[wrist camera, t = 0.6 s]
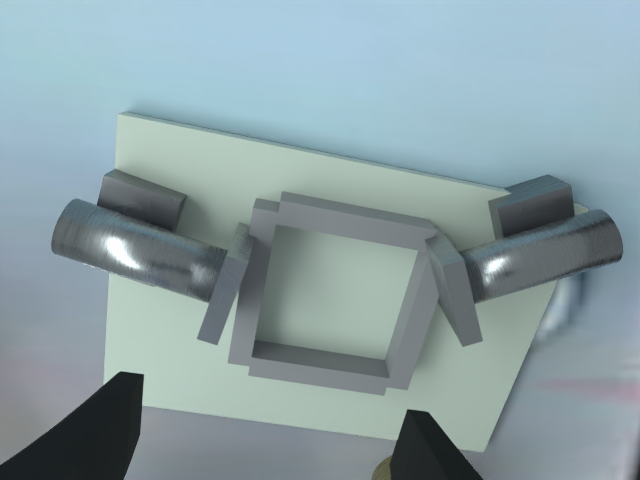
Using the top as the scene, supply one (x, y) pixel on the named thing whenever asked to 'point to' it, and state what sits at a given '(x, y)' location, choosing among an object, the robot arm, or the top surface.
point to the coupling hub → (383, 470)
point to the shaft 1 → (153, 245)
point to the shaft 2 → (520, 251)
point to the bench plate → (317, 291)
